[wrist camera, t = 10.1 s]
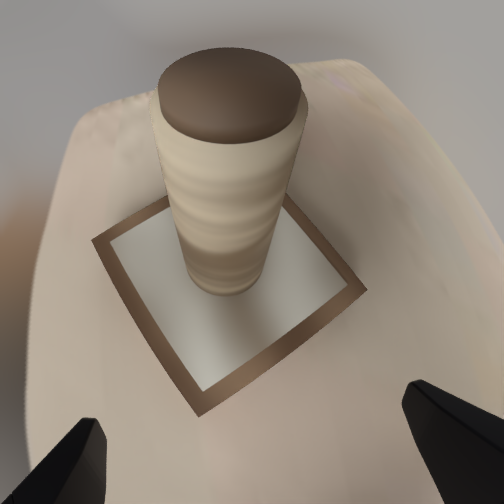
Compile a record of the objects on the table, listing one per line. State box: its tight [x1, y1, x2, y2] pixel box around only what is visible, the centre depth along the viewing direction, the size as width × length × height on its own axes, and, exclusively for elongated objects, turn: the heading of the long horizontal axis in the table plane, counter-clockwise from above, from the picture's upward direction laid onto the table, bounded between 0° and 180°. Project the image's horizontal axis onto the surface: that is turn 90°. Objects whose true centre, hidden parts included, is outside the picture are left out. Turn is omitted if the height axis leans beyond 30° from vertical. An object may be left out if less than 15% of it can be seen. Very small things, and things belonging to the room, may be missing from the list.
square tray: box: [91, 193, 367, 417], centre depth 20 cm, size 12×12×3 cm
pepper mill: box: [149, 48, 308, 296], centre depth 13 cm, size 4×4×12 cm
